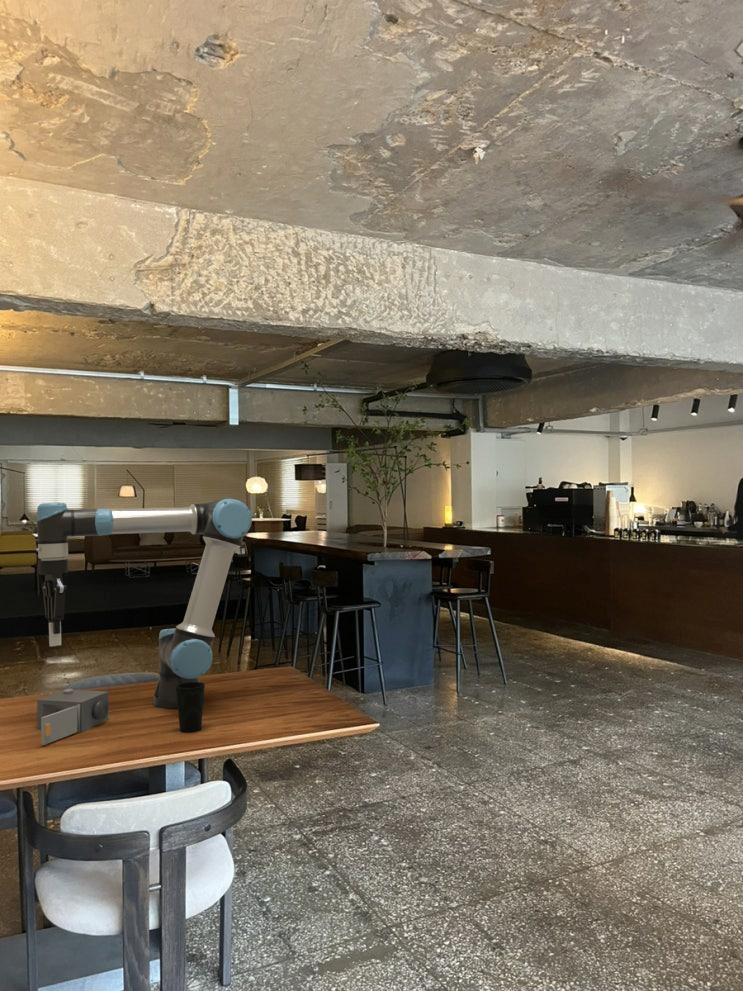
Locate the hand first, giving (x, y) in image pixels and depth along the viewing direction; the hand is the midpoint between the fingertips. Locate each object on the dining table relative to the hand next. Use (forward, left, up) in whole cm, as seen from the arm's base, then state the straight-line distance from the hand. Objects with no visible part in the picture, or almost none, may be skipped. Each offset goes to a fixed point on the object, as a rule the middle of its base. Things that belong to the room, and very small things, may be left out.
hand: (55, 645), depth 197 cm
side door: (-7, +8, -22) cm, 25 cm away
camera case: (-2, -6, -23) cm, 24 cm away
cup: (-37, -8, -23) cm, 44 cm away
